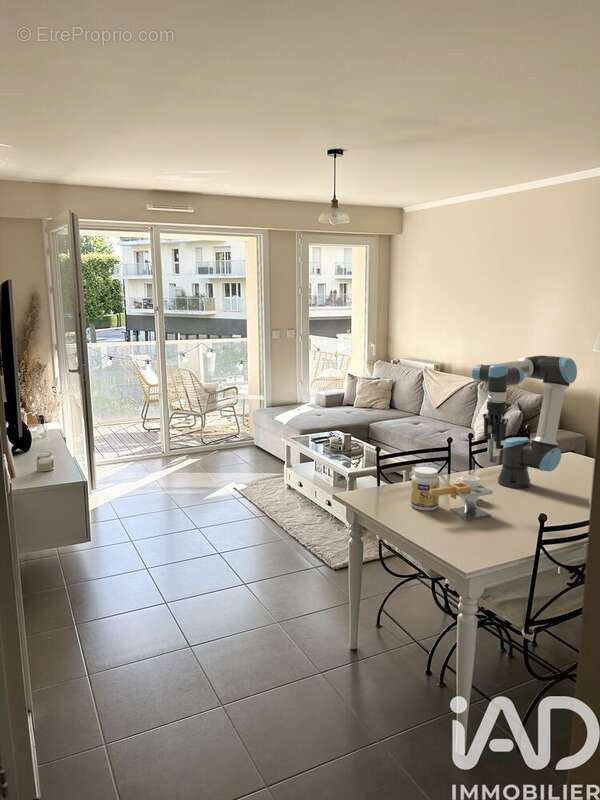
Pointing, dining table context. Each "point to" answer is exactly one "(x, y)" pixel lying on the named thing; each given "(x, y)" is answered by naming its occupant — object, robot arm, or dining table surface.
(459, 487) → the wooden handled frame
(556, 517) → the dining table surface
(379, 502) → the dining table surface
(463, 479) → the cup
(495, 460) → the wedge pin
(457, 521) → the dining table surface
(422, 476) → the supplement tub
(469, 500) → the ball joint plate
